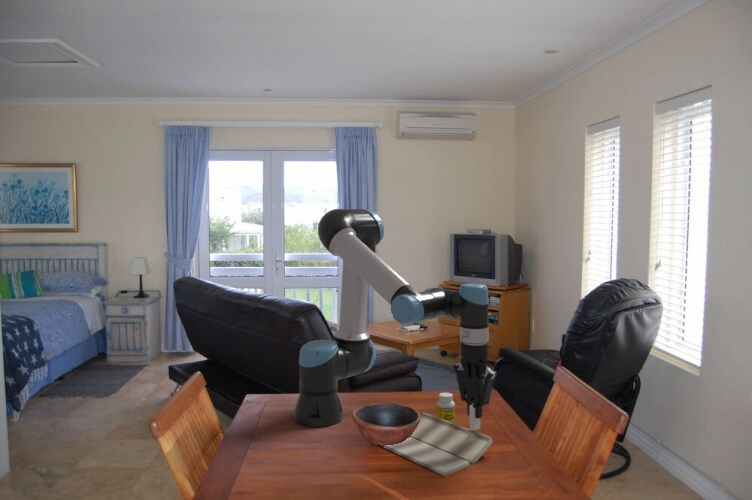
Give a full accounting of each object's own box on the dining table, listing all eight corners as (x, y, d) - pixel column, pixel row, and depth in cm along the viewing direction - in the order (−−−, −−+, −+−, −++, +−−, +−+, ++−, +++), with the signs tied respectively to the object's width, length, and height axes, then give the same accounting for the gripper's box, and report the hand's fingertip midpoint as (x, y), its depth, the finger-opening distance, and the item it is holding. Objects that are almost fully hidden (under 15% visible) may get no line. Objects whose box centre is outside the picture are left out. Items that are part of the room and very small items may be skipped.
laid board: (377, 447, 149) (378, 441, 149) (403, 437, 156) (403, 432, 156) (445, 479, 131) (445, 473, 131) (471, 466, 138) (471, 461, 138)
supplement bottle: (447, 421, 168) (448, 390, 168) (458, 427, 164) (458, 395, 163) (433, 424, 166) (433, 393, 165) (443, 430, 161) (443, 398, 161)
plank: (405, 436, 156) (403, 431, 156) (425, 416, 161) (423, 411, 161) (472, 465, 138) (471, 460, 138) (492, 442, 144) (491, 436, 143)
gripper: (446, 340, 149) (447, 425, 150) (485, 349, 139) (486, 439, 141) (463, 336, 154) (464, 418, 155) (503, 343, 144) (503, 431, 146)
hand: (474, 428), depth 148 cm, fingers closed
